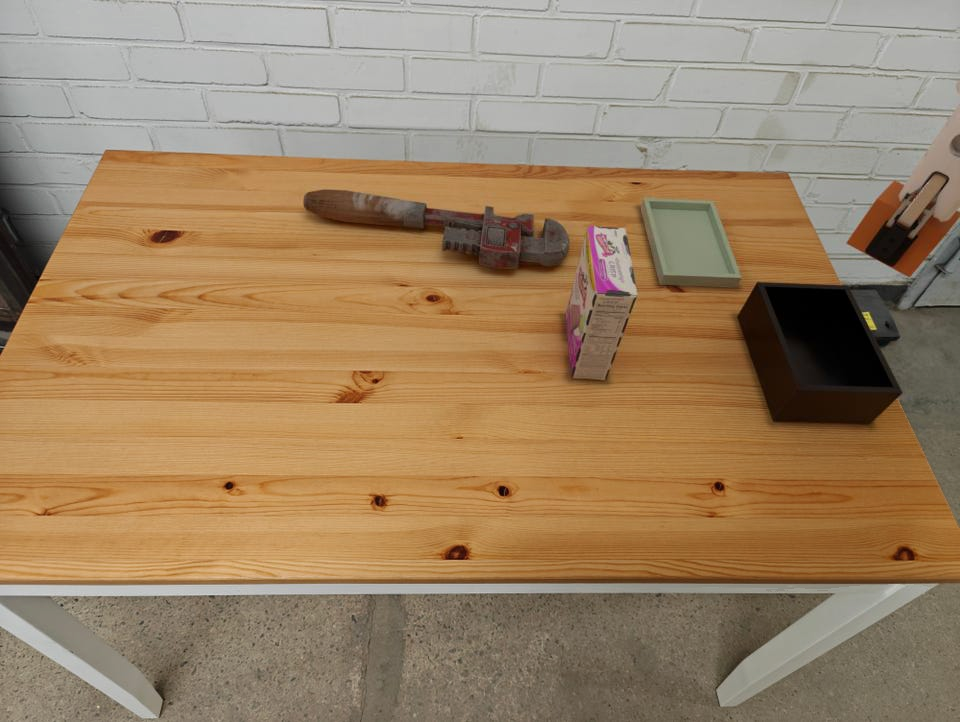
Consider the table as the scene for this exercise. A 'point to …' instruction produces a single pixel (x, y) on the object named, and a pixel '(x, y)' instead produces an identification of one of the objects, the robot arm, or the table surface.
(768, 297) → the dark open storage bin
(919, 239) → the orange brown rectangular block
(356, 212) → the pipe wrench
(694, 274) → the shallow green tray
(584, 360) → the candy bar box
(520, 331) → the table surface
